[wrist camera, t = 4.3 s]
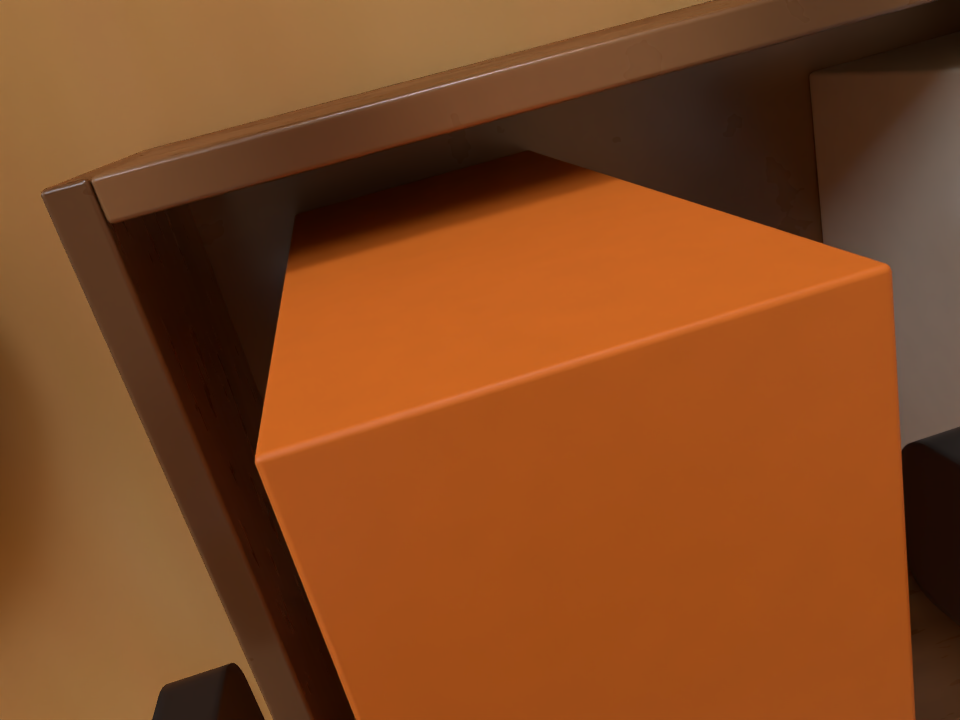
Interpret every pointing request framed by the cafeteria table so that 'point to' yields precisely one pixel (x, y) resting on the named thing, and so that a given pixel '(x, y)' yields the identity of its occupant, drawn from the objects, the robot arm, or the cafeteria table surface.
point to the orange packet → (589, 455)
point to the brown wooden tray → (408, 158)
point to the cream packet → (901, 205)
